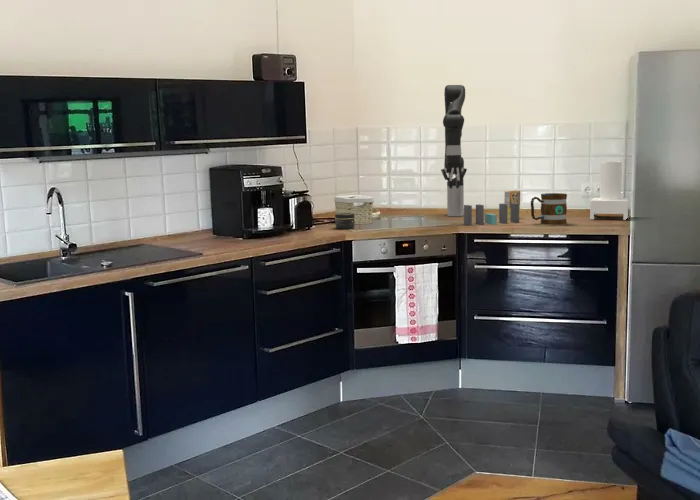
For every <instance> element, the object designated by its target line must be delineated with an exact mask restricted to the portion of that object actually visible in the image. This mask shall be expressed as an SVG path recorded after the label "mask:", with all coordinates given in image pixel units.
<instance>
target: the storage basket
mask: <svg viewBox="0 0 700 500" xmlns="http://www.w3.org/2000/svg"><path fill="white" fill-rule="evenodd" d="M333 201H334V205H335V206H334V207H335V210H334V211H335V214H338V213H353V214H354V217H355V218H354V221H355V225H368V224H372V223H373V222H372V221H373V207H374V196H369V195H364V194H350V195H349V194H348V195H336V196H334V199H333Z"/></svg>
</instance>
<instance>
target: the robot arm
mask: <svg viewBox="0 0 700 500" xmlns="http://www.w3.org/2000/svg"><path fill="white" fill-rule="evenodd" d="M443 96H444V111H445V115H444V116H443V119H442V125H443V127H444V144H445V145H444V146H445V149H444V168H441V169H440V172H441V174H442V176H443V179H444V180H445V181H447V182H446V188H447V189H446V191H447V194H446V200H447V201H446V207H447V208H446V213H447V214H446V215H447V217H464V205H465V204H464V200H465V199H464V198H465V197H464V193H465V192H464V188H465V187H464V183H465V182H464V178H465V176H466V173H467V171H468V169H467V168H466V167H465V160H464V158H463V157H462V146H461V144H462V142H461V139H462V135H463V134H462V133H463V127H464V124H465V118H464V115H462V107H463V106H464V102H465V99H466V87H465V86H464V85H463V84H462V85H461V84H447V85H446V86H444V95H443ZM453 176H455V177H454V178H453Z"/></svg>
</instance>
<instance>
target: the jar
mask: <svg viewBox="0 0 700 500" xmlns="http://www.w3.org/2000/svg"><path fill="white" fill-rule="evenodd" d="M334 217H335V218H334V219H335V221H334V222H335V228H336V229H337V230H344V231H345V230H352V229H354V228H355V225H356V224H355V221H354V218H355V217H354V214H353V213H338V214H336V213H335V214H334Z"/></svg>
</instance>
